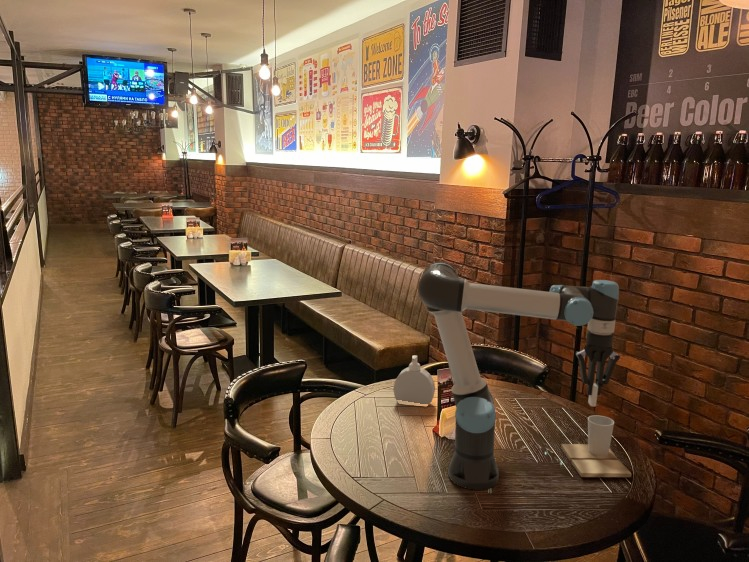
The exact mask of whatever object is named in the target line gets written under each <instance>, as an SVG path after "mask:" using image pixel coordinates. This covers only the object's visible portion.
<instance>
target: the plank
mask: <svg viewBox="0 0 749 562" xmlns="http://www.w3.org/2000/svg"><path fill="white" fill-rule="evenodd" d="M570 463H571V465H572V466H573V468H574V469H575V470H576V472H577V473H578V474H579V476H580V477H581V478H632V473H631V471H630V470H629V469H628V468H627V467H626V466H625V465H624V464H623V463H622V461H621V460H620V459H618V460H571V462H570Z"/></svg>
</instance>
